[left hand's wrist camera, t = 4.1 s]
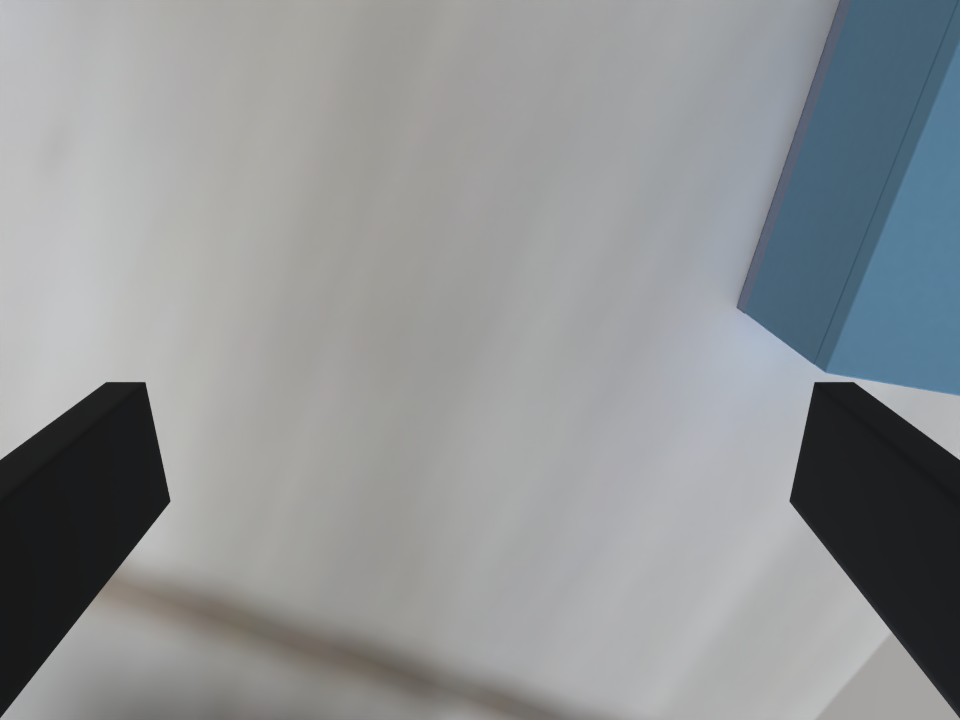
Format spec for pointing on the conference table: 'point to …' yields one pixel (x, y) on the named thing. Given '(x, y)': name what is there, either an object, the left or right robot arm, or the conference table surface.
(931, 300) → the blue box
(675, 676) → the conference table surface
